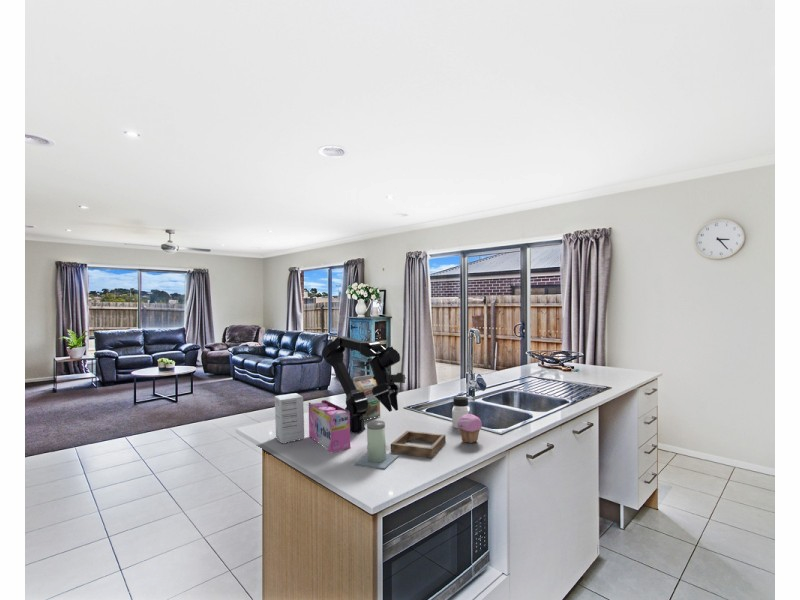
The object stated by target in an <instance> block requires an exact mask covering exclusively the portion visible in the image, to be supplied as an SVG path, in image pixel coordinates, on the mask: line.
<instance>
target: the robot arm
mask: <svg viewBox="0 0 800 600" xmlns="http://www.w3.org/2000/svg"><path fill="white" fill-rule="evenodd" d="M346 349H349V350H353V351H355V352H359V354H360V355H361V356H364V357H365V358H367V360H366V362H365V366H370V369H371V373H372V378H373V379H374V380H375V381H376V384H377V386H375V387H373V389H372V393H373V395H376V396H375V397H376V398H377V399H378V400H379V401H380V404H381V405H383V407H385V409H386V410H387V411H388V412H389V413H390V412H392V411H393V410H394V411H398V410H399V402H398V395H399V393H400V390H401V389H400V388H401V387H400V385H399V384H405V383H406V379H407V378H406V375H405V374H403V372H397V373H396V374H391V372H390V371H388V368H390V367H392V366H394V365H395V364H397V363H399V362H400V361H401V356H400V353H399V351H398V350H397V349H395V348H394V346H392V345H389V346H388V347H386V348H385V347H384V346H383V345H381V343H380V342H379V341H375V340H374V341H363V340H360V339H359V340H358V339H355V338H350V337H348V336H346V335H345V336H337V337H336V338H335V339H334V340H332V341H331V342H330V343H329V344H327V345H326V346H324V348H323V349H322V352H321V353H322V357H323V359H324V360H325V363H327V364H328V365H330V366H331V367H332V368H333V370H334V373H335V375H336V377H337V379H338V381H339V383H340V385H341V388H342V389H343V391H344V394H345V396H346V397H345V405H346V407H345V408H344V409H346V410H348V411H349V412H350V433H353V434H360V433H361V432H362V431H364V430H366V427H365V421H364V419H363V415H364V414H366V412H367V408H368V401H367V400H368V399H367V398H366V396H365V394H364V392H363V391H362V392H359V391H358V390H357V389H356V387H355V385H354V383H353V381H354V380H353V379H352V377H351V375H350V373H349V371H348V369H347V366H346V365H345V363H344V357H345V356H344V355H345V354H344V352H345V351H346ZM397 383H399V384H397ZM377 394H378V395H377Z"/></svg>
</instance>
